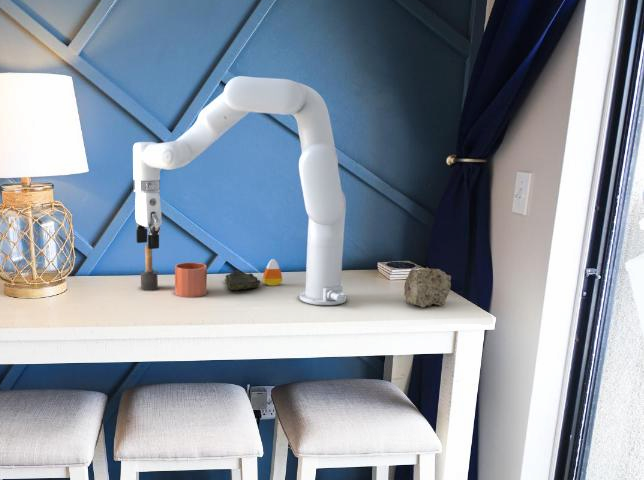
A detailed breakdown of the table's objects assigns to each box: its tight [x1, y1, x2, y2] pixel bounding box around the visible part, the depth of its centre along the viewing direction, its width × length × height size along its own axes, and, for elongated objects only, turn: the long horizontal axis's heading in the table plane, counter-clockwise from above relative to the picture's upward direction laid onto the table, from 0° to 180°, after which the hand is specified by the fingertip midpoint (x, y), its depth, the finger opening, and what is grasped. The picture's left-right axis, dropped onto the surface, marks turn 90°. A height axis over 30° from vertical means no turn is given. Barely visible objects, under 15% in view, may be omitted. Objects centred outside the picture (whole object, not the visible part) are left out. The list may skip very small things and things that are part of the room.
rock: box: [403, 267, 452, 308], centre depth 171 cm, size 11×12×10 cm
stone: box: [224, 269, 261, 291], centre depth 191 cm, size 19×4×10 cm
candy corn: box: [262, 258, 283, 287], centre depth 191 cm, size 6×3×8 cm, turn 93°
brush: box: [140, 244, 159, 291], centre depth 187 cm, size 5×5×13 cm
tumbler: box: [174, 262, 208, 298], centre depth 182 cm, size 9×9×8 cm
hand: (147, 245), depth 185 cm, fingers open, 9 cm apart
